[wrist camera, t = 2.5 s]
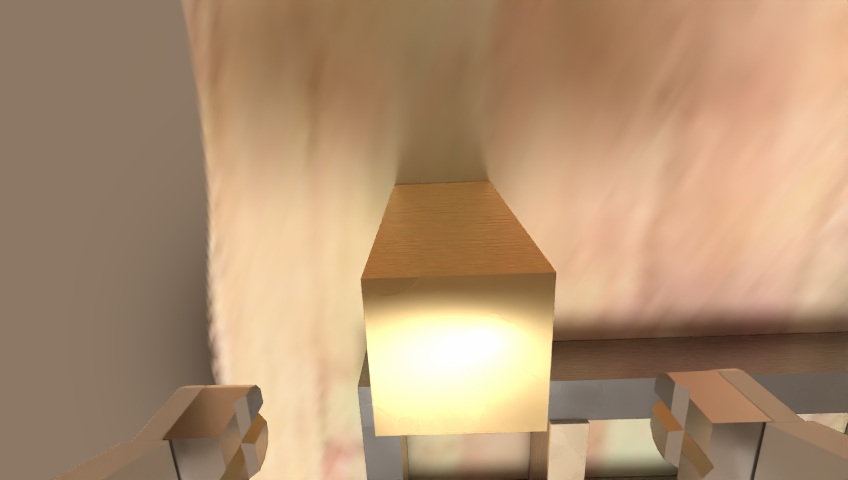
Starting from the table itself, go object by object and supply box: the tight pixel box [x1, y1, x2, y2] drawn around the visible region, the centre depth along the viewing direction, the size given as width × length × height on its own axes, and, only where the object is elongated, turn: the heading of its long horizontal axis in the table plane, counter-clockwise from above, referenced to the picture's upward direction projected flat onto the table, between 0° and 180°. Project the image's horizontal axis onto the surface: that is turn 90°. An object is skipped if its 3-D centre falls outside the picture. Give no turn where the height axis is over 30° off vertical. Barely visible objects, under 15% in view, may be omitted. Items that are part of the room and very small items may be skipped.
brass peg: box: [361, 181, 556, 436], centre depth 14 cm, size 4×4×10 cm
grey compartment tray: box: [358, 332, 848, 480], centre depth 21 cm, size 10×26×3 cm, turn 92°
